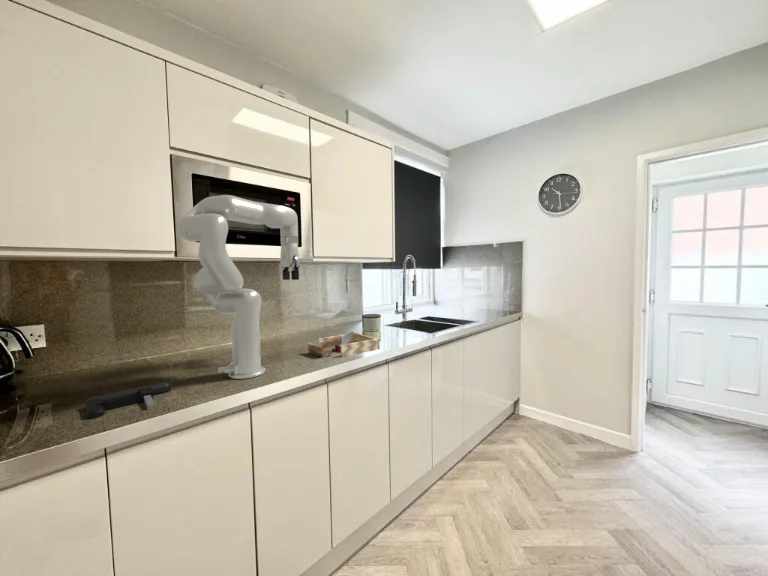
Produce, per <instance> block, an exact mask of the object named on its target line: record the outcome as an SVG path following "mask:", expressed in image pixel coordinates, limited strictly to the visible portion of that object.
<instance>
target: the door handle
mask: <svg viewBox="0 0 768 576" xmlns="http://www.w3.org/2000/svg"><path fill="white" fill-rule="evenodd" d="M168 391H172V385H171V382H170V381H169V382H167V381H166V382H160V383H155V384H151V385H145V386H141V387H137V388H131V389H127V390H121V391H118V392H112V393H107V394H103V395H97V396H94V397H90V398H88V399H87V400H86V401H85V403H84V404H85V405H84V406H85V408H86V411H85V412H86V414H85V415H86V418H87V419H89V420H91V419H97V418H100V417H103V416H104V415H105V413H106V411H110V410H115V409H119V408H123V407H128V406H131V405H136V404H141V403H144V405H145V408H146V409H147V410H148V411H149V410H154V409H156V403H155V402H154V395H158V394H159V395H160V394H162V393H167V392H168Z"/></svg>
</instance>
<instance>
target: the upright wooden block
mask: <svg viewBox="0 0 768 576" xmlns="http://www.w3.org/2000/svg"><path fill="white" fill-rule="evenodd" d="M334 336H335V337H333V338H331V339H328V340H326V341H324V342H322V343H320V344H319V343H317V344H314V343H311V342H307V343H306V346H307V350H308V352H309V354H311V355H313V354H314V356H316V355H317V357H319V356H320V357H319V358H322V357H324V358H327V357H328V356H330V355H333V351H332V348H333V346H334V347H335V345H337V344H339V343H341V342H342V339H341V336H338V335H334Z"/></svg>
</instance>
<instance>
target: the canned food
mask: <svg viewBox="0 0 768 576" xmlns="http://www.w3.org/2000/svg"><path fill="white" fill-rule="evenodd" d="M354 333H355V332H354V331H350V332H348V333H346V335H344V334H343V335H344V336H343V337H341V339H342V342H341V343H339V344H337V345H335V346H334V350H335V352H338V353H341V345H344V344H350V343H354V342H350V341H351V340H352V339H353V337H354Z"/></svg>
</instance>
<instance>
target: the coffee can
mask: <svg viewBox="0 0 768 576" xmlns="http://www.w3.org/2000/svg"><path fill="white" fill-rule="evenodd" d="M381 317H382V315H381V314H379V313H365V314H362V315H361V323H362V324H361V329H362V331H361V332H362V334H361V335H366V336H370V337H374V338H379V339H380V342H381V341H382V326H381V325H382V324H381V321H382V319H381Z"/></svg>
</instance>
